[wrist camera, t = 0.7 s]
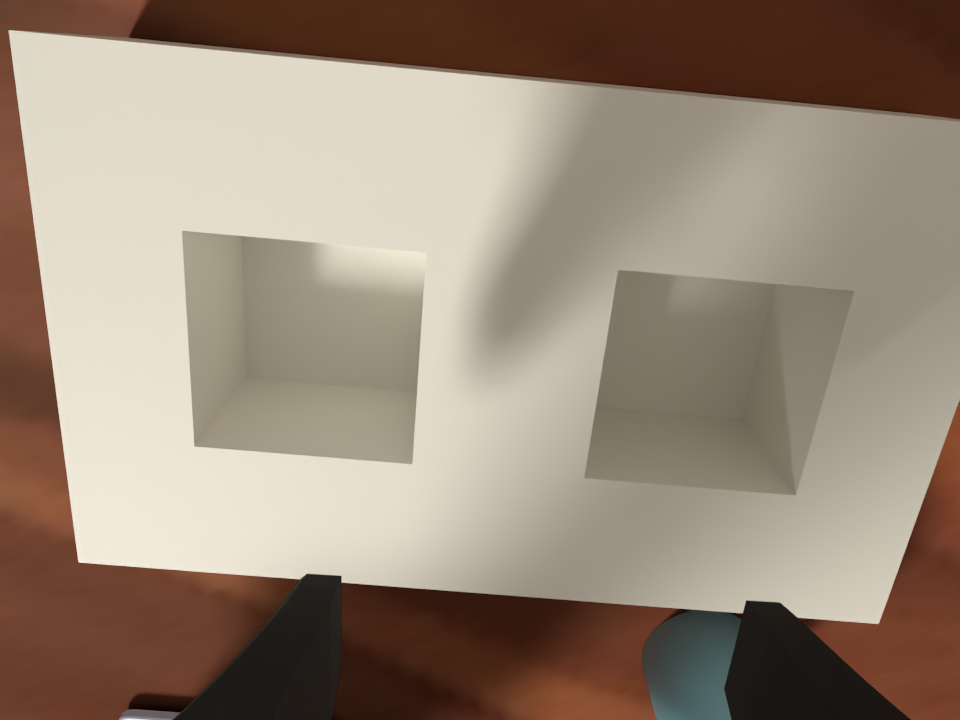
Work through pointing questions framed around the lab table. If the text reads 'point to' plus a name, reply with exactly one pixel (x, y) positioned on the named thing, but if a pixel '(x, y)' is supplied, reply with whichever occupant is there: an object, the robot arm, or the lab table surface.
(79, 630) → the lab table surface
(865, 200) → the hole board
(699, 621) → the pin
